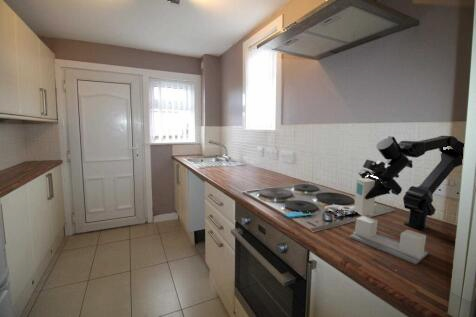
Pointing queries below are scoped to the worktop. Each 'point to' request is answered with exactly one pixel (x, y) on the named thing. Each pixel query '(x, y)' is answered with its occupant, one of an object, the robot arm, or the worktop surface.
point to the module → (362, 204)
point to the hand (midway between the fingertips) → (361, 196)
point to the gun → (339, 208)
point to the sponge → (295, 214)
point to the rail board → (390, 240)
